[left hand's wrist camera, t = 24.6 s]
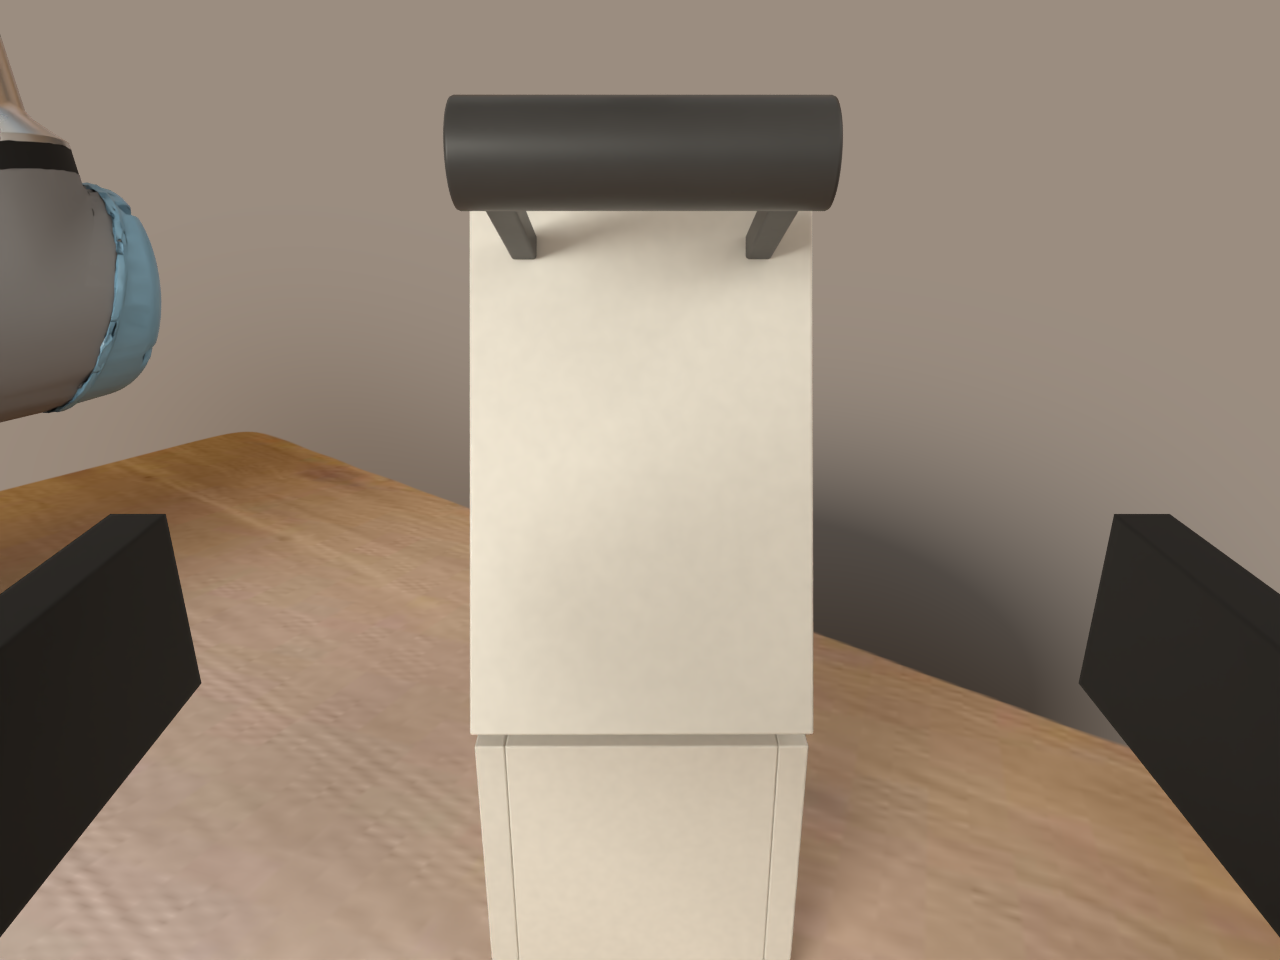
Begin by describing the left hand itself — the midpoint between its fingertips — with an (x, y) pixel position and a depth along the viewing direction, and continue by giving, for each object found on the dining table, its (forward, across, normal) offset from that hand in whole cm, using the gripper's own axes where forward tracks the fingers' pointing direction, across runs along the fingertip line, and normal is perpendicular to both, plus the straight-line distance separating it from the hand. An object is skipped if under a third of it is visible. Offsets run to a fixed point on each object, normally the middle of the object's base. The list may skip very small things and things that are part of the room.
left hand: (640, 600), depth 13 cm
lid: (+13, 0, -2) cm, 13 cm away
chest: (+17, 0, -19) cm, 25 cm away
